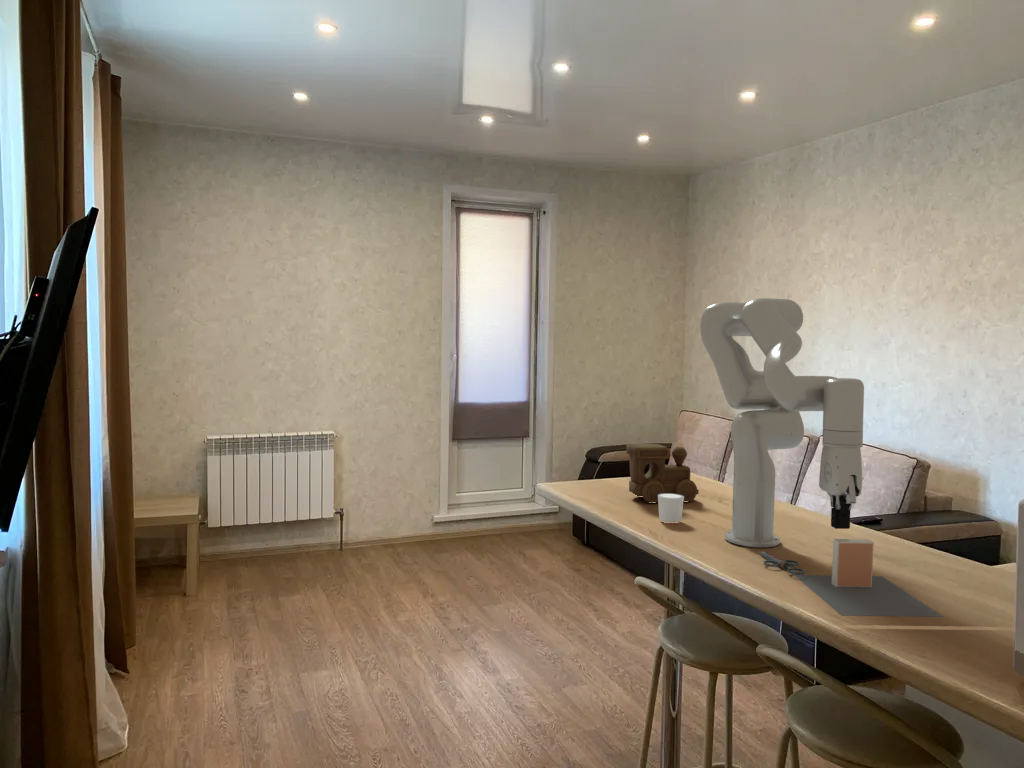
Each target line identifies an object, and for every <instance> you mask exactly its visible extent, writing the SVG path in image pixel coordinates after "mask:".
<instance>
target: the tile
mask: <svg viewBox="0 0 1024 768" xmlns="http://www.w3.org/2000/svg"><path fill="white" fill-rule="evenodd" d="M874 543H875V542H874V541H873V540H871V539H869V538H868V539H867V538H862V539H861V538H860V539H859V538H833V540H832V560H831V561H832V565H831V575H832V584H833V585H834V586H835V587H872V576H873V566H874V565H873V563H874V546H875V545H874Z"/></svg>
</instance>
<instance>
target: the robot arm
mask: <svg viewBox="0 0 1024 768" xmlns="http://www.w3.org/2000/svg"><path fill="white" fill-rule="evenodd" d="M700 318H701V319H700V326H699V327H700V328H699V331H700V338H701V341H702V343H703V346H704V348H705V350H706V351H707V354H708V356H709V357H710V359H711V361H712V363H713V365H714V368H715V372H716V374H717V378H718V381H719V383H720V386H721V388H722V393H723V395H724V397H725V399H726V402H727V404H728V405H729V406H730V407H731V408H733V409H735V410H740V411H741V410H742V412H741V413H738V414H736V416H735V417H734V418H733V419H732V420H731V421H732V422H731V425H730V436H731V442H732V450H733V486H732V487H733V488H732V491H733V492H732V493H733V494H732V516H731V517H732V520H731V521H732V522H731V530H728V531H726V532H725V534H724V538H725V540H726V541H728V542H729V543H732V544H735V545H738V546H743V547H748V548H772V547H773V548H774V547H777V546H778V545H780V541H781V538H780V537H779V536H778V535H776V534H775V533H774V525H775V524H774V521H775V519H774V518H775V498H776V497H775V496H776V495H775V494H776V467H775V464H774V461H773V459H772V457H771V455H770V454H769V451H771V450H788V449H793V448H796V447H798V446H799V445H800V444H801V443H802V442H803V440H804V436H805V426H804V422H803V419H802V415H801V412H822V449H821V455H820V463H819V465H820V467H819V479H818V485H819V489H821V491H824V492H826V493H827V495H828V496H829V499H830V500H829V501H830V507H831V511H830V525H831V526H830V527H832V528H834V529H836V530H837V529H838V530H839V529H840V530H845V529H848V530H849V529H850V527H851V510H852V505H854V504H856V503H857V498H856V497H859V496H860V495H862V488H863V466H862V464H863V461H862V451H861V448H863V444H864V442H863V441H864V407H865V406H864V405H865V404H864V403H865V402H864V401H865V385H864V383H863V381H862V380H860V379H858V378H853V377H852V378H850V377H849V378H848V377H847V378H846V377H843V378H842V377H835V376H829V375H795V374H794V372H792V371H791V369H790V368H789V367H788V366H787V364H786V363H788V362H790V361H791V360H793V359H794V358H795V357H796V356H797V355H798V354H799V352H800V351H801V349H802V347H803V340H802V337H801V336H800V335H799V333H798V331H800V329H801V327H802V326H803V323H804V322H803V321H804V313H803V311H802V308H801V307H800V305H799V304H798V303H797V302H795V301H794V300H792V299H789V298H788V299H787V298H771V297H770V298H768V297H765V298H763V297H761V298H754V299H752V300H750V301H748V302H738V301H737V302H733V301H727V302H726V301H725V302H716V303H713V304H711V305H709V306H707V307H706V308H705V309H704V311H703V312H702V314H701V317H700ZM733 337H751V338H752V339H753V340H754V342H755V343H756V345H757V346H758V347H759V349H760V351H762V353H763V355H764V356H765V360H764V362H763V363H764V364H763V371H762V370H761V371H759V370H756V369H755V368H754V367H753V365H752V362H751V360H750V357H749V354H748V353H747V351H746V350H745V349H744V347H743V346H742V345H741V344H740V343H739V342H737V340H735V338H733ZM744 410H745V411H744Z"/></svg>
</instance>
